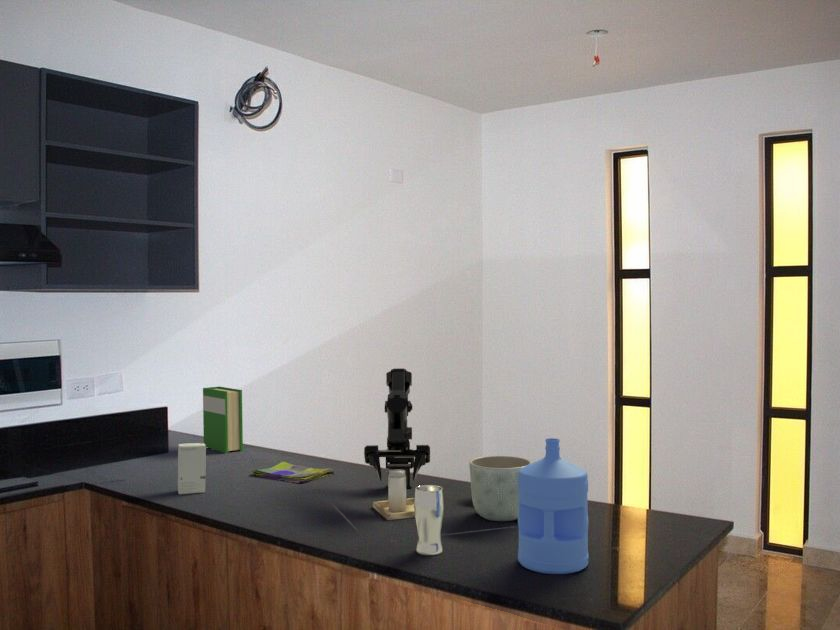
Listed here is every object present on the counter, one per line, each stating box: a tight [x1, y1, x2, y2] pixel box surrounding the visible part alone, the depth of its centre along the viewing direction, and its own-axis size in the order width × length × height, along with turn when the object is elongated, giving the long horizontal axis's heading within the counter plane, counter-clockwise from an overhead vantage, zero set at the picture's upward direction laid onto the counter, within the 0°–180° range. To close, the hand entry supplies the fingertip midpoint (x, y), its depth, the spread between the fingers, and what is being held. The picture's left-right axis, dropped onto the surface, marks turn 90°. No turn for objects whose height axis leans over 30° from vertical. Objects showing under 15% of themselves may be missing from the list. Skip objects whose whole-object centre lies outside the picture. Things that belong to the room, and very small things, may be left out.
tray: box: [372, 497, 415, 521], centre depth 223 cm, size 14×14×2 cm
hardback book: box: [202, 386, 244, 454], centre depth 318 cm, size 18×7×24 cm, turn 43°
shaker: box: [387, 469, 407, 512], centre depth 224 cm, size 5×5×11 cm
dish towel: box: [250, 461, 335, 484], centre depth 272 cm, size 18×24×3 cm
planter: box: [468, 455, 533, 522], centre depth 218 cm, size 17×17×15 cm
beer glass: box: [414, 484, 445, 556], centre depth 190 cm, size 7×7×15 cm
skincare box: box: [177, 442, 207, 495], centre depth 250 cm, size 8×6×15 cm
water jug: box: [517, 437, 590, 575], centre depth 180 cm, size 16×16×28 cm
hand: (397, 479), depth 224 cm, fingers open, 9 cm apart
